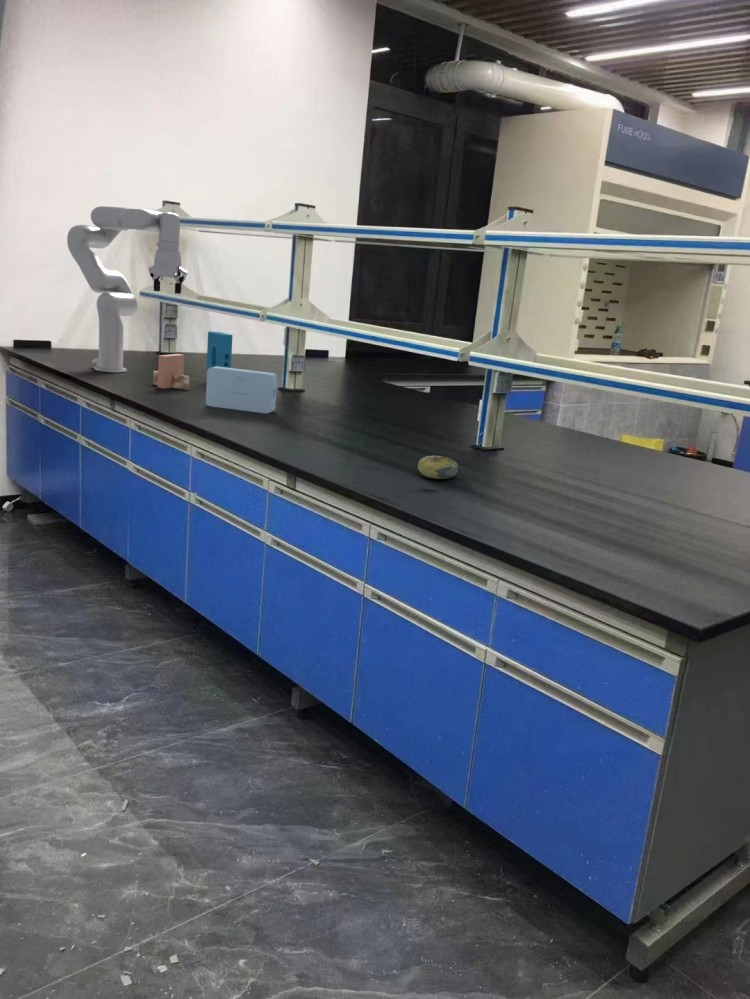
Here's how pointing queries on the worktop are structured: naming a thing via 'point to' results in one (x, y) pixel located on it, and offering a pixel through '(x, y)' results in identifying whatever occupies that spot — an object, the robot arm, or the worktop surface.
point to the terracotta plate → (169, 369)
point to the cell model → (437, 467)
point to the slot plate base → (179, 382)
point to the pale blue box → (241, 389)
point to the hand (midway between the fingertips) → (167, 292)
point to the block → (219, 350)
